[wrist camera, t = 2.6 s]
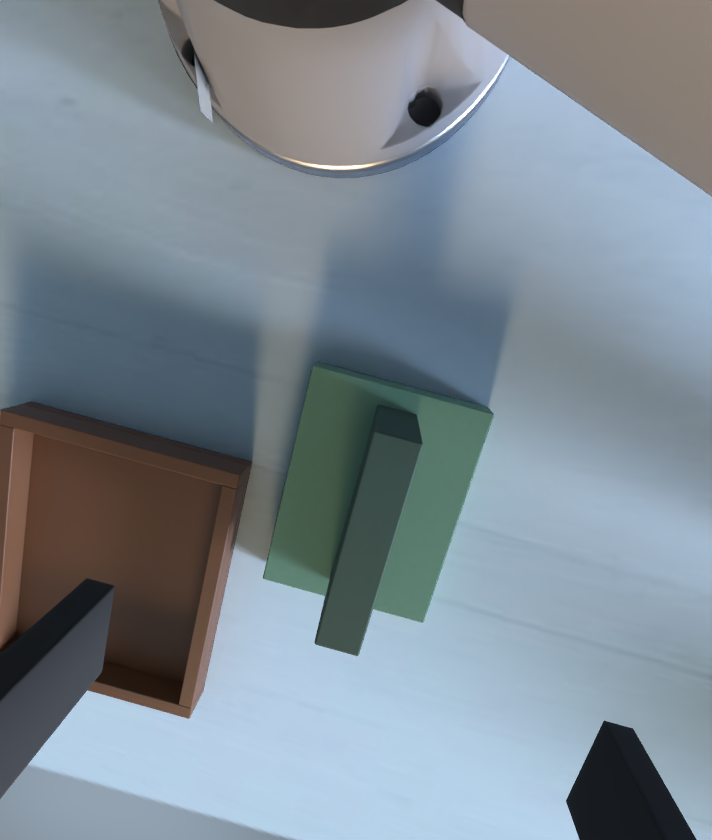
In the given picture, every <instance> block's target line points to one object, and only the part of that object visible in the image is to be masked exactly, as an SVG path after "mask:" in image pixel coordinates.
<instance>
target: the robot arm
mask: <svg viewBox="0 0 712 840" xmlns="http://www.w3.org/2000/svg"><path fill="white" fill-rule="evenodd" d="M158 1H159V5H160V9H161V12H162V15H163V18H164V21H165V24H166V27H167V30H168V32H169V35H170V38H171V41H172V43H173V45H174V48H175V50H176V52H177V55H178V57H179V59H180V61H181V63H182V65H183V66H184V68H185V70H186V72H187V74H188V76H189V77H190V79H191V80H192V82H193V83H194V85H195V86H196V88H197V90H198V96H199V105H200V111H201V112H202V113H203V114H204V115H205V116H206V117H207V118H208V119H209V120H210V121H211V122H212V123H213V118H212V109H213V110H214V111H215V112H216V113H217V114H218V115H219V116H220V117H221V118H222V119H223V120H224V121H225V123H226V124H227V125H228V126H229V127H230V128H231V129H232V130H233V131H234V132H235V133H236V134H237V135H238V136H239V137H241V138H242V139H243V140H244V141H245V142H246V143H247V144H249V145H250V146H252V147H253V148H254V149H256V150H257V151H259V152H260V153H261V154H263V155H265V156H267V157H268V158H270V159H272V160H274V161H275V162H277V163H280V164H282V165H284V166H287V167H289V168H291V169H294V170H298V171H301V172H304V173H307V174H312V175H317V176H322V177H333V178H356V177H364V176H371V175H376V174H380V173H384V172H388V171H391V170H394V169H397V168H400V167H402V166H405V165H407V164H409V163H411V162H413V161H415V160H418V159H419V158H421V157H423V156H424V155H426V154H428V153H429V152H431V151H433V150H434V149H436V148H437V147H438V146H440V145H441V144H442V143H444V142H445V141H447V140H448V139H449V138H450V137H451V136H452V135H453V134H455V133H456V132H457V131H458V130H459V129H460V128H461V127H462V126H463V125H464V124H465V123H466V122H467V121H468V120H469V119H470V118H471V117H472V116H473V114H474V113H475V112H476V111H477V109H478V108H479V107H480V106H481V104H482V103H483V102H484V101H485V99H486V98H487V96H488V95H489V93H490V92H491V90H492V89H493V87H494V86H495V84H496V82H497V81H498V79H499V77H500V75H501V73H502V71H503V69H504V68H505V66H506V64H507V61H508V59H509V57H510V56H511V57H512V58H513V59H515V60H516V61H518V62H519V63H521V64H522V65H524V66H525V67H526V68H528V69H529V70H531V71H532V72H534V73H535V74H536V75H538V76H539V77H541V78H542V79H544V80H545V81H547V82H548V83H549V84H551V85H552V86H554V87H555V88H557V89H558V90H559V91H561V92H562V93H564V94H565V95H567V96H568V97H570V98H571V99H572V100H574V101H575V102H577V103H578V104H580V105H581V106H583V107H584V108H585V109H587V110H588V111H590V112H591V113H593V114H594V115H595V116H597V117H598V118H600V119H601V120H603V121H604V122H606V123H607V124H608V125H610V126H611V127H613V128H614V129H616V130H617V131H618V132H620V133H621V134H623V135H624V136H626V137H627V138H629V139H630V140H631V141H633V142H634V143H636V144H637V145H639V146H640V147H642V148H643V149H644V150H646V151H647V152H649V153H650V154H652V155H653V156H654V157H656V158H657V159H659V160H660V161H662V162H663V163H665V164H666V165H667V166H669V167H670V168H672V169H673V170H675V171H676V172H677V173H679V174H680V175H682V176H683V177H685V178H686V179H688V180H689V181H690V182H692V183H693V184H695V185H696V186H698V187H699V188H701V189H702V190H703V191H705V192H706V193H707V194H709V195H710V196H711V197H712V0H158ZM211 107H212V108H211ZM114 589H115V586H114V585H110V584H107V583H103V582H99V581H96V580H92V579H89V578H86V579H85V580H84V581H83V582H82V583H81V584H79V585H78V586H77V587H76V588H75V589H74V590H73V591H72V592H70V593H69V594H68V595H67V596H66V597H65V598H64V599H62V600H61V601H60V602H59V603H58V604H57V605H56V606H55V607H53V608H52V609H51V610H50V611H49V612H48V613H47V614H45V615H44V616H43V617H42V618H41V619H40V620H39V621H37V622H36V623H35V624H34V625H33V626H32V627H31V628H30V629H28V630H27V631H26V632H25V633H24V634H23V635H22V636H20V637H19V638H18V639H17V640H16V641H15V642H14V643H12V644H11V645H10V646H9V647H8V648H7V649H6V650H5V651H3V652H2V653H1V654H0V798H1V797H2V796H3V795H4V793H5V792H6V791H7V790H8V788H9V787H10V786H11V785H12V783H13V782H14V781H15V779H16V778H17V777H18V776H19V774H20V773H21V772H22V771H23V769H24V768H25V767H26V766H27V765H28V763H29V762H30V761H31V760H32V758H33V757H34V756H35V755H36V753H37V752H38V751H39V750H40V748H41V747H42V746H43V745H44V743H45V742H46V741H47V740H48V738H49V737H50V736H51V735H52V734H53V732H54V731H55V730H56V729H57V727H58V726H59V725H60V724H61V722H62V721H63V720H64V719H65V717H66V716H67V715H68V714H69V712H70V711H71V710H72V709H73V707H74V706H75V705H76V704H77V702H78V701H79V700H80V699H81V697H82V696H83V695H84V694H85V692H86V691H87V690H88V689H89V687H90V686H91V685H92V684H93V682H94V681H95V680H96V679H97V677H98V676H99V675H100V674H101V672H102V669H103V662H104V655H105V649H106V642H107V635H108V629H109V622H110V615H111V609H112V602H113V595H114ZM566 802H567V805H568V808H569V811H570V813H571V816H572V819H573V822H574V825H575V828H576V831H577V833H578V836H579V839H580V840H696V838H695V836H694V834H693V833H692V831H691V829H690V827H689V826H688V824H687V822H686V820H685V819H684V817H683V815H682V813H681V812H680V810H679V808H678V806H677V805H676V803H675V801H674V799H673V798H672V796H671V794H670V792H669V791H668V789H667V787H666V786H665V784H664V782H663V780H662V779H661V777H660V775H659V773H658V772H657V770H656V768H655V766H654V765H653V763H652V761H651V759H650V758H649V756H648V754H647V752H646V751H645V749H644V747H643V745H642V744H641V742H640V740H639V738H638V737H637V735H636V733H635V731H634V730H633V729H632V728H629V727H625V726H621V725H618V724H614V723H611V722H607V721H604V722H603V724H602V726H601V728H600V730H599V732H598V734H597V737H596V739H595V741H594V743H593V745H592V747H591V749H590V751H589V753H588V756H587V758H586V760H585V762H584V764H583V766H582V768H581V770H580V772H579V775H578V777H577V779H576V781H575V783H574V785H573V787H572V789H571V791H570V794H569V796H568V798H567V800H566Z"/></svg>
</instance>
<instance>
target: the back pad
mask: <svg viewBox="0 0 712 840" xmlns="http://www.w3.org/2000/svg"><path fill="white" fill-rule="evenodd" d="M493 416H494V414H493V412H492V411H491V410H490V409H489V408H488V407H484V406H481V405H477V404H473V403H470V402H466V401H462V400H458V399H455V398H451V397H447V396H443V395H440V394H436V393H432V392H428V391H425V390H421V389H417V388H414V387H410V386H406V385H402V384H399V383H395V382H391V381H387V380H384V379H380V378H376V377H372V376H369V375H365V374H361V373H358V372H354V371H350V370H346V369H343V368H339V367H335V366H331V365H328V364H324V363H320V362H317V363H316V364H314V365H313V367H312V371H311V375H310V379H309V384H308V388H307V392H306V396H305V401H304V405H303V409H302V413H301V418H300V422H299V426H298V431H297V435H296V439H295V443H294V448H293V452H292V456H291V460H290V465H289V469H288V473H287V477H286V482H285V486H284V490H283V494H282V499H281V503H280V507H279V512H278V516H277V520H276V524H275V529H274V533H273V537H272V541H271V546H270V550H269V554H268V558H267V563H266V567H265V571H264V575H263V579H266V580H269V581H273V582H277V583H280V584H284V585H288V586H291V587H295V588H299V589H302V590H306V591H309V592H313V593H317V594H320V595H324V596H325V600H324V605H323V609H322V613H321V617H320V621H319V626H318V630H317V634H316V638H315V644H316V645H319V646H323V647H327V648H330V649H334V650H337V651H341V652H345V653H348V654H352V655H355V656H358V655H359V653H360V649H361V646H362V643H363V640H364V636H365V633H366V630H367V627H368V623H369V620H370V617H371V614H372V610H373V609H375V610H378V611H382V612H386V613H389V614H393V615H396V616H400V617H404V618H407V619H411V620H415V621H418V622H422V623H423V622H424V619H425V616H426V613H427V610H428V607H429V604H430V601H431V598H432V596H433V593H434V590H435V587H436V584H437V581H438V578H439V575H440V572H441V569H442V566H443V563H444V560H445V557H446V554H447V551H448V548H449V545H450V543H451V540H452V537H453V534H454V531H455V528H456V525H457V522H458V519H459V516H460V513H461V510H462V507H463V504H464V501H465V498H466V495H467V493H468V490H469V487H470V484H471V481H472V478H473V475H474V472H475V469H476V466H477V463H478V460H479V457H480V454H481V451H482V448H483V445H484V443H485V440H486V437H487V434H488V431H489V428H490V425H491V422H492V419H493Z"/></svg>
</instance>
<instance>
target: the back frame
mask: <svg viewBox="0 0 712 840" xmlns="http://www.w3.org/2000/svg"><path fill="white" fill-rule="evenodd" d="M251 464H252V462H251V461H247V460H243V459H240V458H236V457H232V456H228V455H225V454H221V453H217V452H214V451H210V450H206V449H203V448H199V447H195V446H192V445H188V444H184V443H181V442H177V441H173V440H170V439H166V438H162V437H159V436H155V435H151V434H148V433H144V432H140V431H137V430H133V429H129V428H125V427H122V426H118V425H114V424H111V423H107V422H103V421H100V420H96V419H92V418H89V417H85V416H81V415H78V414H74V413H70V412H67V411H63V410H59V409H56V408H52V407H48V406H45V405H41V404H37V403H34V402H28V403H24V404H21V405H17V406H13V407H9V408H5V409H2V410H0V654H1V653H2V652H3V651H5V650H6V649H7V648H8V647H9V646H10V645H11V644H12V643H14V642H15V641H16V640H17V639H18V638H19V637H20V636H22V635H23V634H24V633H25V632H26V631H27V630H28V629H30V628H31V627H32V626H33V625H34V624H35V623H36V622H37V621H39V620H40V619H41V618H42V617H43V616H44V615H45V614H47V613H48V612H49V611H50V610H51V609H52V608H53V607H55V606H56V605H57V604H58V603H59V602H60V601H61V600H62V599H64V598H65V597H66V596H67V595H68V594H69V593H70V592H72V591H73V590H74V589H75V588H76V587H77V586H78V585H79V584H81V583H82V582H83V581H84V580H85V579H86V578H89V579H92V580H96V581H99V582H103V583H107V584H110V585H114V586H115V589H114V595H113V602H112V609H111V615H110V622H109V629H108V635H107V642H106V649H105V655H104V662H103V669H102V672H101V674H100V675H99V676H98V677H97V679H96V680H95V681H94V682H93V684H92V685H91V686H90V687H89V689H88V690H89V691H92V692H96V693H99V694H103V695H107V696H110V697H114V698H117V699H121V700H124V701H128V702H131V703H135V704H139V705H142V706H146V707H149V708H153V709H156V710H160V711H163V712H167V713H171V714H174V715H178V716H181V717H185V718H188V719H189V718H190V716H191V714H192V712H193V710H194V708H195V706H196V704H197V702H198V700H199V698H200V696H201V694H202V692H203V690H204V685H205V680H206V676H207V671H208V666H209V661H210V657H211V652H212V647H213V643H214V638H215V633H216V629H217V624H218V619H219V615H220V610H221V605H222V600H223V596H224V591H225V586H226V582H227V577H228V572H229V568H230V563H231V558H232V554H233V549H234V544H235V539H236V535H237V530H238V525H239V521H240V516H241V511H242V507H243V502H244V497H245V493H246V488H247V483H248V479H249V474H250V469H251Z"/></svg>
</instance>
